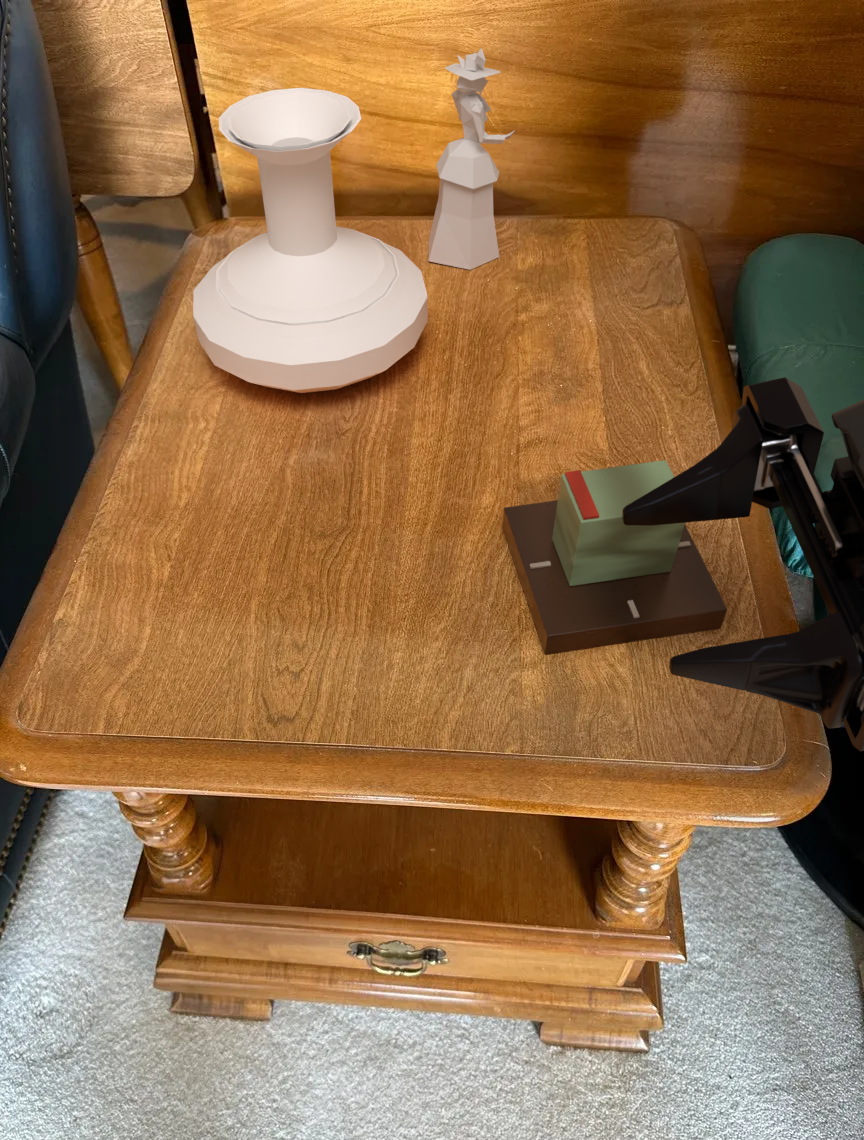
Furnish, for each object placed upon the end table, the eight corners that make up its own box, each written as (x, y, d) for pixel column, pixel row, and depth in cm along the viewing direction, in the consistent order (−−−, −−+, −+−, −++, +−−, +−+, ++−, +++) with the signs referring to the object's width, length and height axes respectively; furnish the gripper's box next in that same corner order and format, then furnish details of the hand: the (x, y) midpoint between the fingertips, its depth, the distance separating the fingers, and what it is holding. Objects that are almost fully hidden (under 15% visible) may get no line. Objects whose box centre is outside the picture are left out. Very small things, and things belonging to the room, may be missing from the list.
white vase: (418, 423, 77) (415, 187, 62) (178, 414, 79) (119, 183, 64) (435, 286, 90) (436, 61, 75) (227, 281, 92) (187, 61, 76)
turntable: (660, 504, 71) (666, 483, 69) (720, 628, 63) (728, 607, 62) (501, 527, 70) (503, 505, 68) (544, 655, 62) (547, 634, 61)
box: (649, 525, 67) (666, 456, 62) (671, 572, 64) (691, 504, 59) (551, 538, 66) (561, 470, 61) (569, 586, 63) (581, 519, 58)
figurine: (516, 248, 93) (532, 44, 79) (453, 278, 90) (458, 72, 76) (469, 221, 97) (477, 20, 83) (407, 248, 94) (403, 46, 80)
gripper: (940, 255, 44) (599, 334, 45) (1166, 578, 33) (713, 664, 35) (884, 427, 53) (602, 488, 55) (1048, 722, 43) (694, 785, 44)
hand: (645, 587), depth 47 cm, fingers open, 9 cm apart
